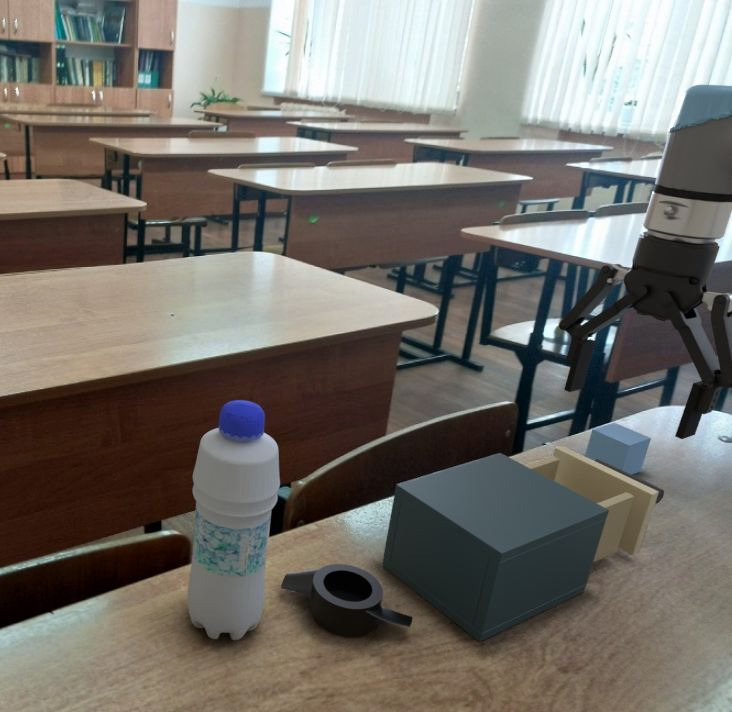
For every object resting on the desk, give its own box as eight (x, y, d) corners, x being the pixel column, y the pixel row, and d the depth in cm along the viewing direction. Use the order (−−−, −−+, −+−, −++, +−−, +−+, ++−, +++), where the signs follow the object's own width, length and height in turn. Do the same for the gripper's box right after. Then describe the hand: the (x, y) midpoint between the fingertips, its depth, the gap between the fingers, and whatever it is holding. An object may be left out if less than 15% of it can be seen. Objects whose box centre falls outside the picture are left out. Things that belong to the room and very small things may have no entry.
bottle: (278, 639, 59) (305, 417, 52) (202, 658, 57) (220, 429, 50) (241, 587, 65) (262, 381, 58) (171, 603, 63) (183, 390, 55)
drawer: (575, 491, 82) (590, 436, 80) (667, 539, 74) (687, 480, 72) (465, 531, 73) (478, 471, 71) (556, 591, 65) (574, 525, 63)
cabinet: (482, 527, 76) (500, 452, 73) (584, 592, 67) (609, 509, 64) (381, 565, 69) (396, 484, 66) (479, 642, 60) (501, 553, 57)
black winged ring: (349, 668, 57) (354, 638, 56) (272, 592, 65) (275, 565, 64) (419, 635, 60) (425, 607, 59) (338, 567, 68) (342, 541, 67)
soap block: (604, 454, 93) (614, 422, 91) (640, 471, 89) (651, 438, 88) (582, 462, 91) (592, 429, 89) (618, 479, 87) (629, 445, 85)
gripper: (555, 215, 88) (515, 377, 96) (797, 266, 68) (722, 465, 76) (593, 212, 91) (551, 369, 99) (833, 260, 72) (758, 451, 79)
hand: (625, 411), depth 87 cm, fingers open, 13 cm apart
